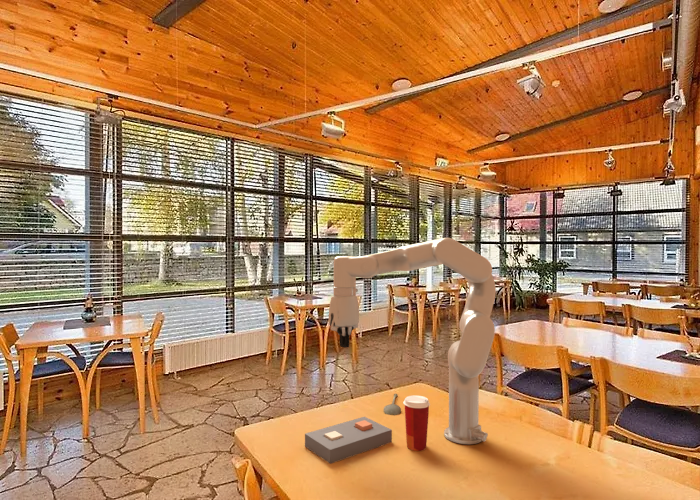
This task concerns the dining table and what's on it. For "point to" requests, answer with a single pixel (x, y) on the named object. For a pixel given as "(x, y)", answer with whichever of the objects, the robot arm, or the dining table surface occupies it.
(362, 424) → the peach square button
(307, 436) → the button panel
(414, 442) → the coffee cup
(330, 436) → the cream cube block
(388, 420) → the dining table surface
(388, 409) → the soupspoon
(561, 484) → the dining table surface
